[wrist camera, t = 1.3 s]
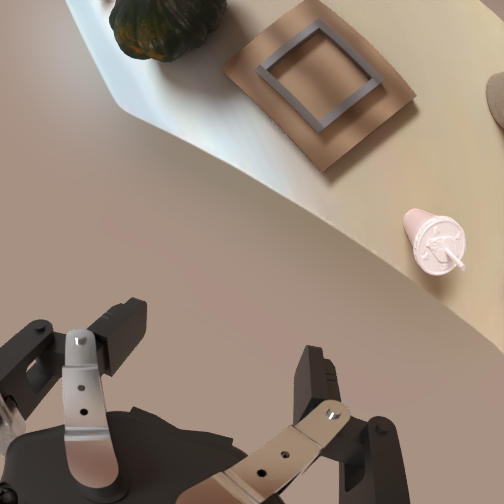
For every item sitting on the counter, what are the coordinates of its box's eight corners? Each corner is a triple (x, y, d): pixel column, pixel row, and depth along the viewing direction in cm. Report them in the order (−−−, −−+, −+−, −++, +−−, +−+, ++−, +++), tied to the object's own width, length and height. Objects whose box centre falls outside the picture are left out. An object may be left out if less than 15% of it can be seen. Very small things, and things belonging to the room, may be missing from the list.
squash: (96, 56, 27) (87, 37, 16) (135, -24, 21) (150, -69, 10) (183, 75, 35) (216, 67, 24) (217, -2, 29) (264, -31, 18)
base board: (312, 1, 24) (311, -10, 21) (411, 97, 26) (421, 93, 23) (224, 73, 30) (215, 67, 27) (321, 171, 33) (322, 174, 30)
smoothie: (425, 250, 33) (466, 303, 21) (386, 236, 34) (418, 288, 21) (441, 207, 31) (494, 244, 18) (402, 191, 31) (447, 222, 19)
